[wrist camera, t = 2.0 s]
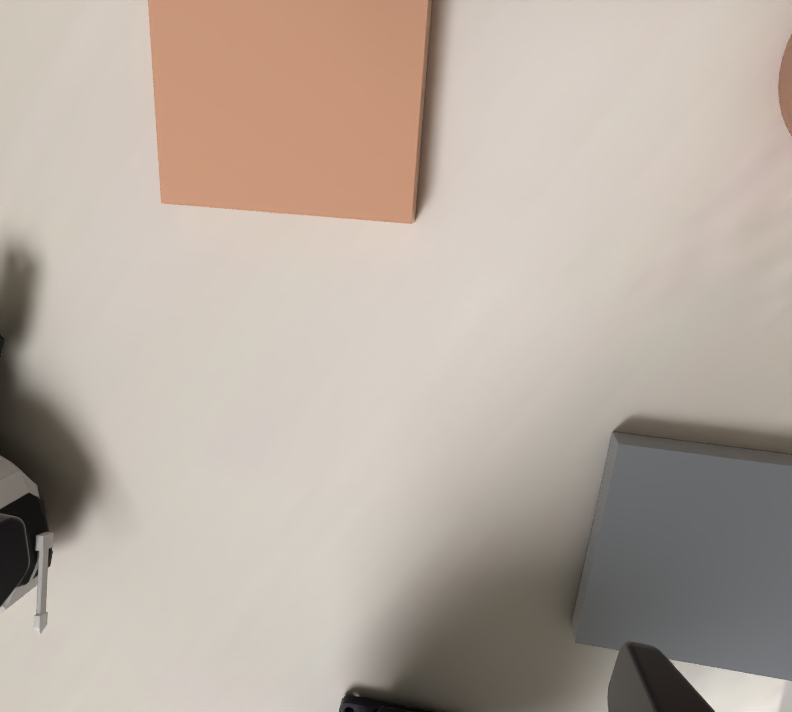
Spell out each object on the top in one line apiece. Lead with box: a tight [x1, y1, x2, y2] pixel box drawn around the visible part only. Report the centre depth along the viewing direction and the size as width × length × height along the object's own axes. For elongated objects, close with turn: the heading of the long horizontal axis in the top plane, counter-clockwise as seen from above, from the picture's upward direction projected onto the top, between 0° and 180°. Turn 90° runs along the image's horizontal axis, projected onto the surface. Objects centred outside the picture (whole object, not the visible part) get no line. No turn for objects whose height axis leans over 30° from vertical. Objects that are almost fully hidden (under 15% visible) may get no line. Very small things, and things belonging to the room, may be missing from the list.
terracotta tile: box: [148, 0, 432, 224], centre depth 18 cm, size 9×9×1 cm
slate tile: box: [571, 432, 792, 681], centre depth 20 cm, size 9×9×1 cm
